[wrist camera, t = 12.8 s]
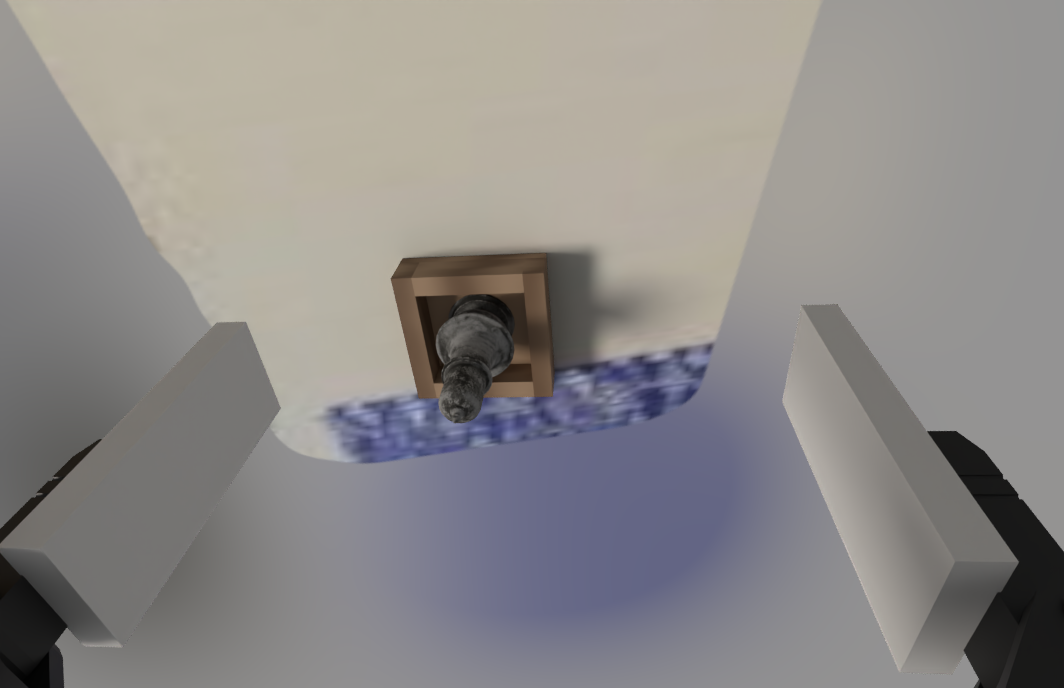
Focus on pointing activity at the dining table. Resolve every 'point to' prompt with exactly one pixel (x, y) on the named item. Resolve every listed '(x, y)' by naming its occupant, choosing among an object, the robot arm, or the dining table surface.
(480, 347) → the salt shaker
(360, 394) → the dining table surface
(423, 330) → the walnut holder
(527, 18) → the dining table surface
